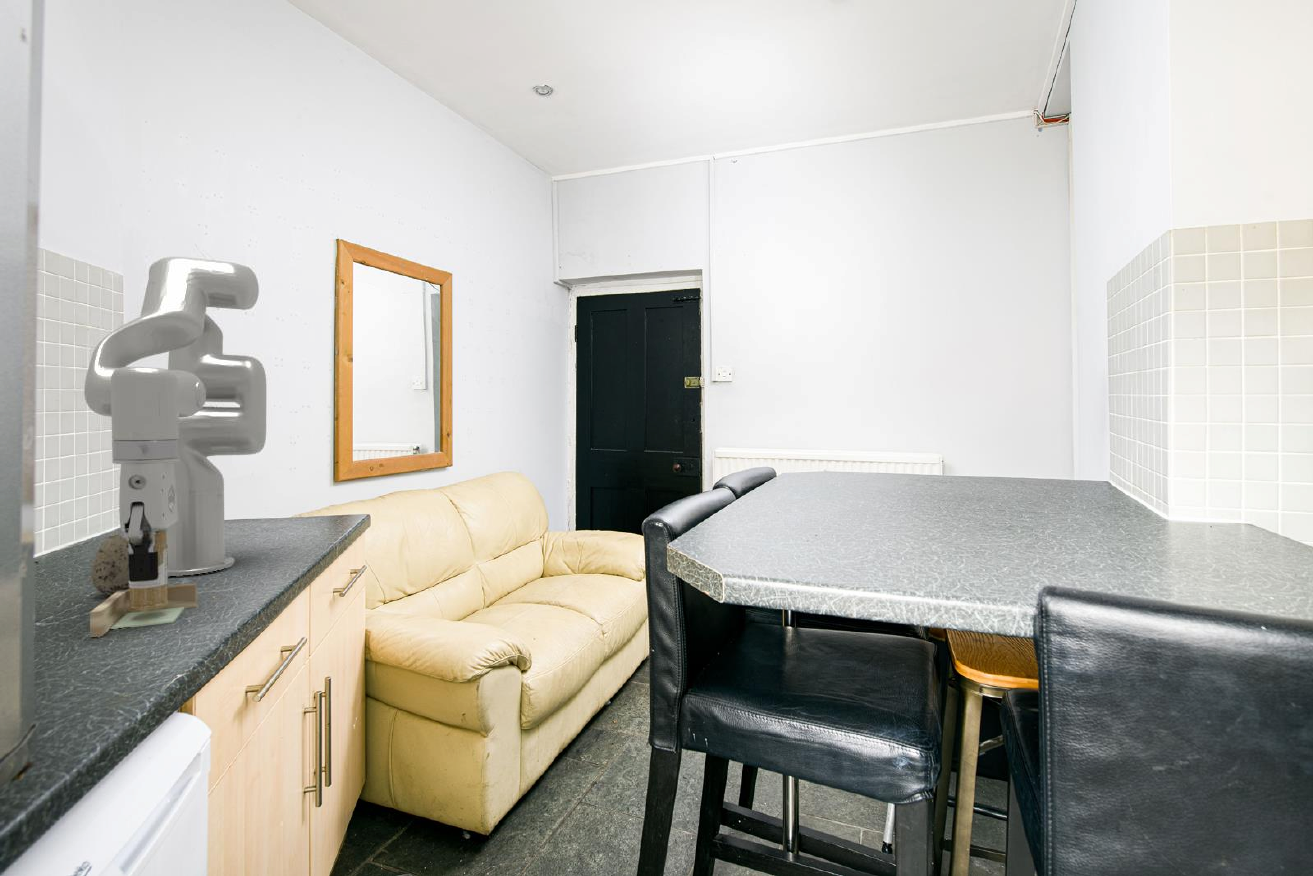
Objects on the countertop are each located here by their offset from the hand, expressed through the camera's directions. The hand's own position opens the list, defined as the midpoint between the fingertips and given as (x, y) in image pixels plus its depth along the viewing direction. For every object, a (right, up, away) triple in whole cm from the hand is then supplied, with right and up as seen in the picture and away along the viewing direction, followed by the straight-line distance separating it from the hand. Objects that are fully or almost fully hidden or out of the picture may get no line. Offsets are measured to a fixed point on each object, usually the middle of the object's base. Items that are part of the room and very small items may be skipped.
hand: (149, 574), depth 89 cm
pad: (0, -7, 0) cm, 7 cm away
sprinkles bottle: (0, -5, 0) cm, 5 cm away
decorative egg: (-15, -6, +12) cm, 20 cm away
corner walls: (0, -7, 0) cm, 6 cm away
